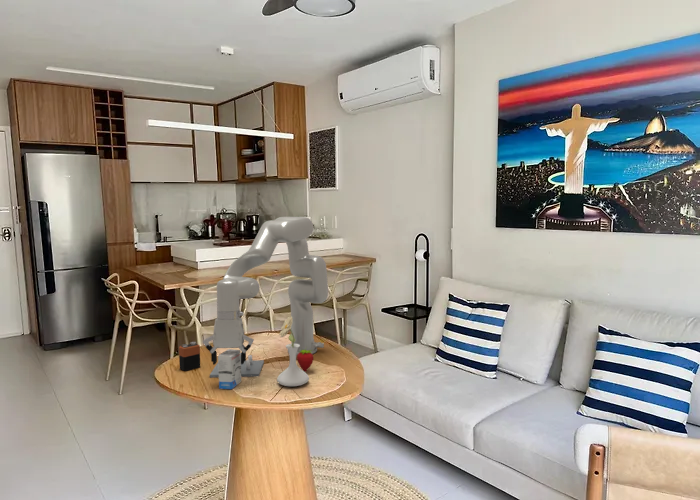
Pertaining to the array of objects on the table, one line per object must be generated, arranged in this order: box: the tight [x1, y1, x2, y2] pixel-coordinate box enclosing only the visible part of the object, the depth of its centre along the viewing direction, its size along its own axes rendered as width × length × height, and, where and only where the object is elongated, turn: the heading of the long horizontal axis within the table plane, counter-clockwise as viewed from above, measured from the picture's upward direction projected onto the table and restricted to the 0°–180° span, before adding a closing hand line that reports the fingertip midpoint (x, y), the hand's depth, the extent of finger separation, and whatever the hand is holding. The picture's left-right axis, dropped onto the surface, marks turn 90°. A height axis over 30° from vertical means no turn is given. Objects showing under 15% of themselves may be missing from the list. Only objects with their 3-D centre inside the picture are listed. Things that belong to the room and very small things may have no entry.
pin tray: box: [209, 354, 265, 379], centre depth 185 cm, size 18×16×4 cm
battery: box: [178, 341, 201, 372], centre depth 187 cm, size 4×7×10 cm, turn 135°
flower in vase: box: [276, 315, 310, 387], centre depth 169 cm, size 13×11×25 cm
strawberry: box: [296, 349, 314, 373], centre depth 183 cm, size 6×8×10 cm
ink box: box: [217, 348, 242, 390], centre depth 169 cm, size 9×5×12 cm, turn 168°
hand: (228, 363), depth 169 cm, fingers open, 9 cm apart
